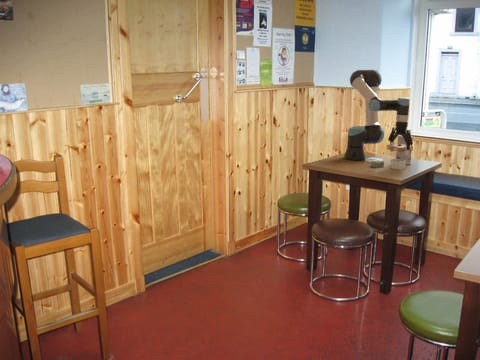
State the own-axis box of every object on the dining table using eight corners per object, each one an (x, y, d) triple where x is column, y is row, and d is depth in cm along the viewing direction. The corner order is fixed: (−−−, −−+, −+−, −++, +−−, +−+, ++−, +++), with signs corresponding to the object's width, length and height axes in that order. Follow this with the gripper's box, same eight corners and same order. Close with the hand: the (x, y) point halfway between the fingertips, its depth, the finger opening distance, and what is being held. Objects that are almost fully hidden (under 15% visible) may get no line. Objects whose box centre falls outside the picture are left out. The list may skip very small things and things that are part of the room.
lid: (386, 149, 346) (386, 143, 345) (398, 147, 352) (399, 142, 351) (400, 152, 336) (400, 146, 335) (412, 150, 342) (413, 144, 341)
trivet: (370, 166, 352) (371, 161, 351) (377, 165, 355) (377, 160, 354) (377, 167, 347) (377, 162, 346) (383, 166, 350) (384, 162, 349)
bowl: (387, 167, 349) (388, 159, 347) (397, 166, 353) (398, 158, 352) (398, 170, 341) (398, 162, 339) (408, 168, 345) (408, 160, 344)
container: (411, 165, 356) (413, 136, 351) (396, 164, 358) (398, 136, 353) (409, 162, 366) (412, 134, 361) (395, 161, 368) (397, 134, 363)
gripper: (384, 119, 347) (381, 150, 353) (412, 123, 327) (409, 156, 332) (392, 118, 351) (389, 149, 356) (420, 122, 331) (417, 155, 336)
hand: (399, 153), depth 344 cm, fingers closed on lid, 12 cm apart
